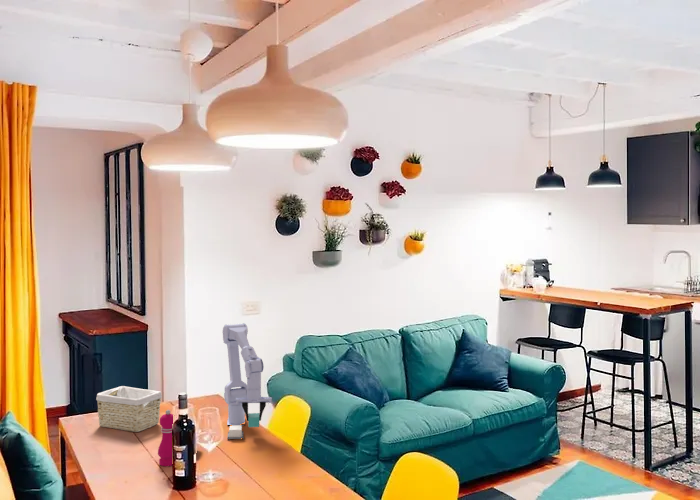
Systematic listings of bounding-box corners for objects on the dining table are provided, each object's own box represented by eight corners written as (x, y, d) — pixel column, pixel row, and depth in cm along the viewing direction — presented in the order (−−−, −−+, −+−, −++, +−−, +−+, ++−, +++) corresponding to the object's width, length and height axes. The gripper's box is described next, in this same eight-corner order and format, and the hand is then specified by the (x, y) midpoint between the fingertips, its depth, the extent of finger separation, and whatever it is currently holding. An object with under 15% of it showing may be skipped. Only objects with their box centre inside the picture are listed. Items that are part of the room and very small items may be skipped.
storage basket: (94, 426, 285) (94, 393, 285) (121, 416, 300) (121, 384, 299) (137, 434, 275) (137, 399, 275) (163, 424, 290) (163, 391, 289)
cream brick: (229, 432, 276) (229, 425, 276) (241, 432, 277) (241, 425, 276) (229, 437, 270) (229, 430, 270) (241, 436, 271) (241, 429, 271)
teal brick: (248, 422, 277) (248, 413, 277) (259, 422, 278) (259, 413, 277) (248, 427, 271) (248, 417, 271) (259, 426, 272) (259, 417, 271)
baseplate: (228, 434, 276) (228, 431, 276) (243, 434, 277) (243, 430, 277) (227, 440, 269) (227, 437, 269) (243, 439, 270) (243, 436, 270)
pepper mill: (153, 464, 242) (153, 410, 241) (167, 458, 248) (167, 406, 247) (168, 468, 238) (168, 413, 237) (182, 462, 245) (182, 408, 244)
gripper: (236, 390, 268) (235, 423, 269) (271, 389, 271) (271, 422, 271) (236, 386, 275) (236, 418, 276) (271, 385, 278) (271, 417, 278)
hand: (253, 420), depth 274 cm, fingers closed on teal brick, 4 cm apart
